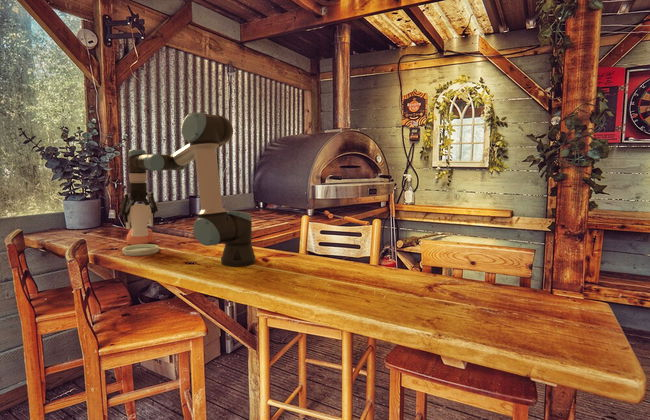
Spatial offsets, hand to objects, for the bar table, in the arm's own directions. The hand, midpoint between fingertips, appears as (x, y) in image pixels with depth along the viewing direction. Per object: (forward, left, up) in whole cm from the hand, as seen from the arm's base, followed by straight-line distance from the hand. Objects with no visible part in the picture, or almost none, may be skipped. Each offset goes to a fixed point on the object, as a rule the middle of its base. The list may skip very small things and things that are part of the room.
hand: (139, 227), depth 191 cm
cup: (0, 0, -4) cm, 4 cm away
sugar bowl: (+17, -9, -12) cm, 23 cm away
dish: (0, 0, -12) cm, 12 cm away
